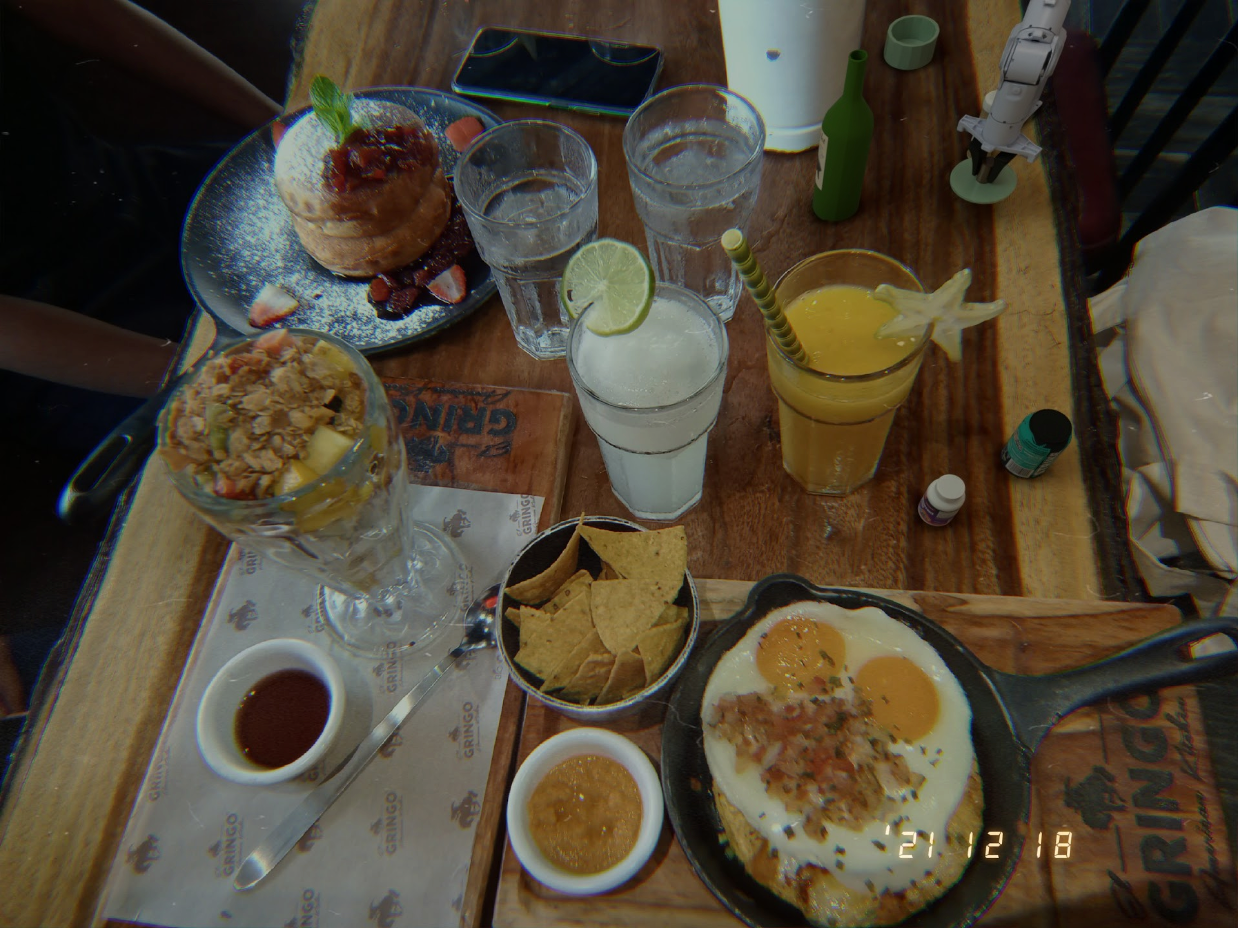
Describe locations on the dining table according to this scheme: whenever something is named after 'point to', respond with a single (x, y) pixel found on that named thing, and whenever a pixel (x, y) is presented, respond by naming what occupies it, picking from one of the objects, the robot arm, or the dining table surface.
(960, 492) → the pill bottle
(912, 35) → the canister
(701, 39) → the dining table surface
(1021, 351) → the dining table surface
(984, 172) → the canister lid
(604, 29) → the dining table surface
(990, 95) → the sprinkles bottle
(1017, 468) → the teal spice jar
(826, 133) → the wine bottle
